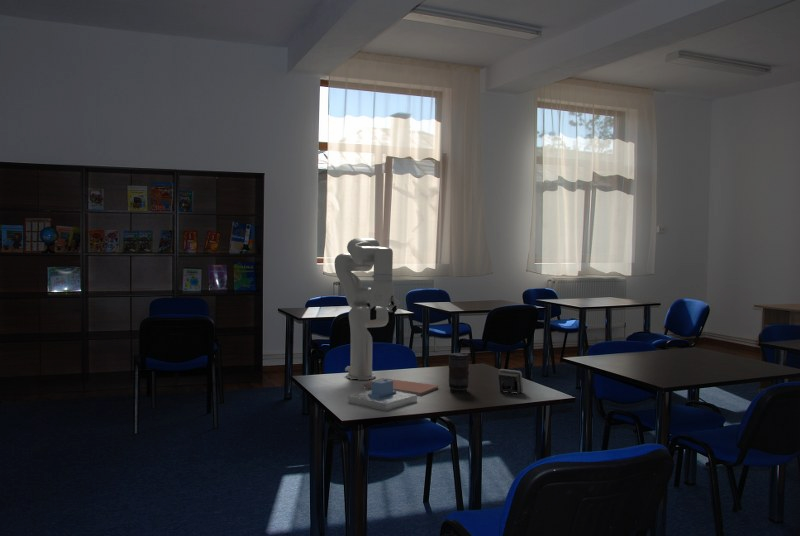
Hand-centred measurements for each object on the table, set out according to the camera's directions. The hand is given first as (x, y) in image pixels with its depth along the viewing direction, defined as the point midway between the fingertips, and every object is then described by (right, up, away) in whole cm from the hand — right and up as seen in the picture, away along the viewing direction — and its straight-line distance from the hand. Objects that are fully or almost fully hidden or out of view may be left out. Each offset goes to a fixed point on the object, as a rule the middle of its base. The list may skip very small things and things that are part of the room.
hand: (382, 320), depth 258 cm
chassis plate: (+1, -29, -20) cm, 35 cm away
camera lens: (+31, -28, 0) cm, 42 cm away
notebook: (+7, -29, +4) cm, 30 cm away
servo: (+1, -28, -19) cm, 34 cm away
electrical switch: (+51, -29, -2) cm, 59 cm away
